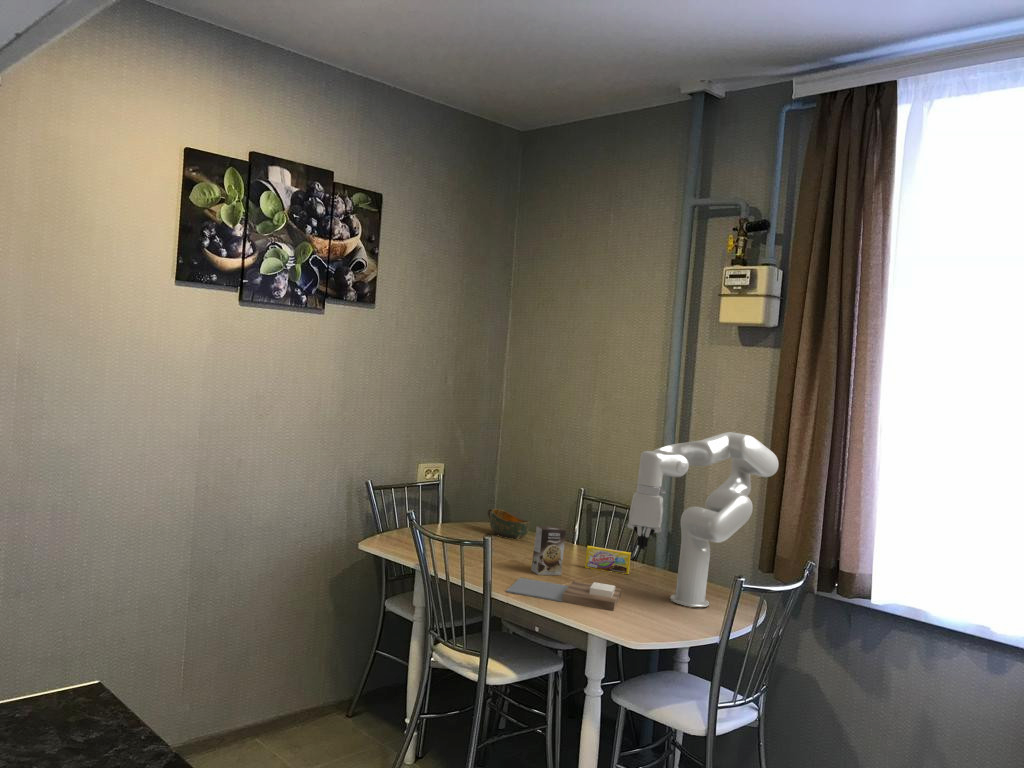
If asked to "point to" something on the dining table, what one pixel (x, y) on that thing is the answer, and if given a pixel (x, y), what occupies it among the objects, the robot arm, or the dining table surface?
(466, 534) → the dining table surface
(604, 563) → the candy box
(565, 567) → the dining table surface
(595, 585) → the tile
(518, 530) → the green gourd bowl
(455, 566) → the dining table surface
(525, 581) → the mat
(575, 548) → the dining table surface
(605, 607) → the board
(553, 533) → the cookie box
